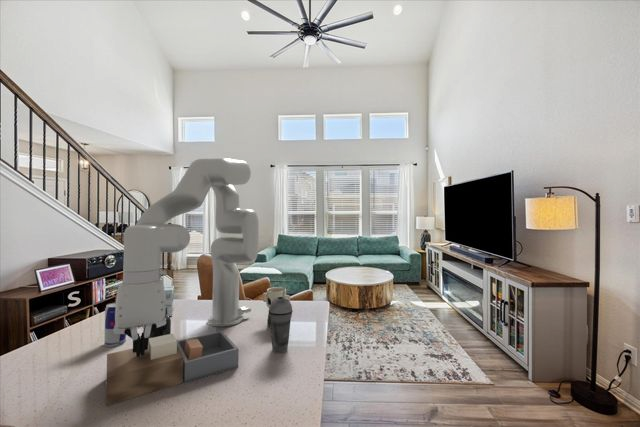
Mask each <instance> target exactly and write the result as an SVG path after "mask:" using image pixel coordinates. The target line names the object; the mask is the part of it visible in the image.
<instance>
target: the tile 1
mask: <svg viewBox="0 0 640 427" xmlns="http://www.w3.org/2000/svg"><path fill="white" fill-rule="evenodd" d="M177 341H178V340H177V339H176V336H175V334H174V333H171V334H168V335H163V336H159V337H154V338H149V349H148V351H149V354H150V358H151V360H152V359H156V358H160V357H164V356H168V355H172V354H176V353H177Z"/></svg>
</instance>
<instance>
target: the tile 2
mask: <svg viewBox="0 0 640 427" xmlns="http://www.w3.org/2000/svg"><path fill="white" fill-rule="evenodd" d="M202 349H203V346H202V345H201V343H200V342H199V340H198V339H190V340H186V342H185V348H184V354H185V356H186V358H187V359H188V361H189V360H192V359H196V358H200V357H201V355H202Z"/></svg>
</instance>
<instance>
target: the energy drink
mask: <svg viewBox="0 0 640 427" xmlns="http://www.w3.org/2000/svg"><path fill="white" fill-rule="evenodd" d="M115 307H116V302H111V303H108V304H106V306H105V308H104V344H103V345H104V346H105V347H107V348H113V347H118V346H121V345H123V344H125V342H126V340H127V335H126V334H114V333H113V330H114V326H115Z"/></svg>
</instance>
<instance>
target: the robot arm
mask: <svg viewBox="0 0 640 427" xmlns="http://www.w3.org/2000/svg"><path fill="white" fill-rule="evenodd" d="M250 179H251V168H250V165H249V164H248V162H247V161H244V160H241V159H233V158H198V159H195V160H193V161H192V162H191V163H190V165H189V166H188V168H187V169H186V171H185V173H184V174H183V176H182V178H181V179H180V181H179V182H178V184H177V186H176V187H175V188H174V190H173V191H171V192H169V193H168V194H166V195H165V196H163V197H162V198H160V199H159V200H157V201H156V202H154V203H152V204H151V205H150V206H149V207H148V208H146V210H144V212H143V213H142V214H141V215H140V217H139V219H138V221H137V222H136V223H135V225H130V226H126V228H125V229H124V233H123V265H122V267H123V269H122V282H121V283H119V285H118V288H117V293H116V299H115V303H116V307H115V326H114V330H113V333H114V334H126V337H127V336H128V337H129V338H131V339H132V349H133V353H134V352H136V356H137V357H139V356H140V353H141V355H142V356H143V355H145V350H147V349H148V337H149V336H150V334H151V333H152V332H153V331H154V330H155V329H156V328H158V327H161V326H163V325H165V324H166V319H165V315H166V306H165V292H164V287H165V284H164V281H163V279H161V278H162V277H164V276H167V273H168V271H167V269H162V268H161V254H162V253H172V254H173V253H178V252H181V251H183V250H185V249H186V248H187V247H188V246H189V244H190V241H191V235H190V232H189V230H188V229H187V228H186V227H185V226H183V225H180V224H176V223H167V222H168V221H170V220H172V219H173V218H176V217H178V216H180V215H183V214H186V213H189V212H191V211H194V210H196V209H198V208H200V207H201V206H203V203H204V201H205V199H206V197H207V196H208V194H209V191H210V189H212V190H213V194H214V195H215V228H216V231H218V232H219V233H221V234H230V235H231V234H232V235H242V237H235V236H222V237H217V238H215V239H214V240H213V241H212V242H211V245H210V256H211V262H212V303H211V304H212V305H211V306H212V307H211V308H212V310H211V313H212V314H211V316H208V318H207V323H208V325H210V326H213V327H217V328H218V327H230V326H234V325H237V324H239V323H241V322H242V321H243V319H244V316H243V315H244V314H247V313H251V312H252V308H251V306H249V307H246V306H241V307H240V303H239V302H240V271H239V269H238V266H236V264H253V263H254V262H255V261H256V260H257V258H258V254H259V232H260V231H259V228H260V227H259V225H260V224H259V217H258V215H257V212H256V211H255V210H253V209H250V208H240V195H239V192H238V191H237V189H236V188H235V186H241V185H245V184H247V183H248V182H249V181H250ZM138 327H143V330H142V332H141V335H140V334H139V333H138Z"/></svg>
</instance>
